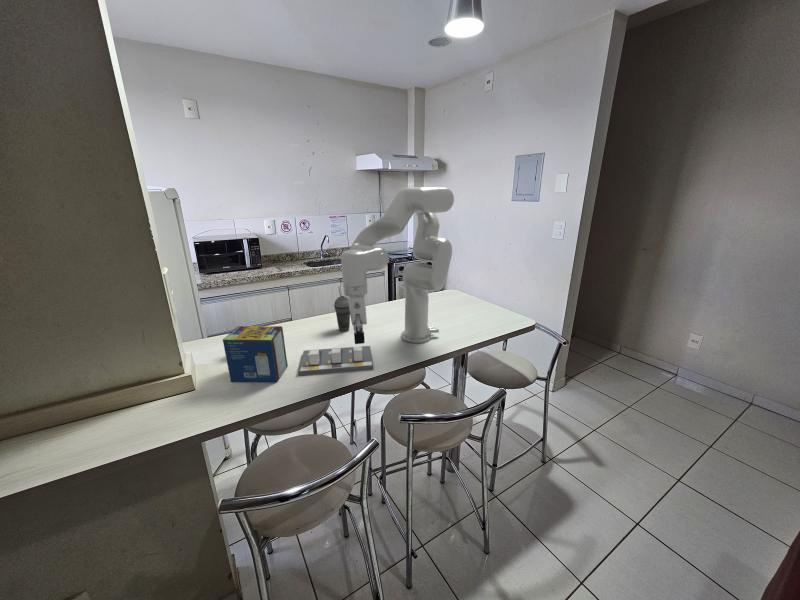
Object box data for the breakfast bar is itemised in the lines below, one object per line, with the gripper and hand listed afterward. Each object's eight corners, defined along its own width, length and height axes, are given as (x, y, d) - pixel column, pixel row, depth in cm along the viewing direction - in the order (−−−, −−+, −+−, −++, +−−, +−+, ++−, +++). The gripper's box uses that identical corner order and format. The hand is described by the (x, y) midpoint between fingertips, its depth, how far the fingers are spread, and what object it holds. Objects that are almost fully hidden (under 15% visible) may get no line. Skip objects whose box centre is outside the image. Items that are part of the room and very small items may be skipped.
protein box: (244, 366, 115) (237, 325, 110) (288, 366, 115) (283, 325, 110) (229, 383, 105) (221, 339, 100) (277, 383, 105) (271, 339, 100)
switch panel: (370, 349, 127) (370, 345, 126) (373, 369, 113) (373, 364, 112) (304, 354, 123) (303, 349, 122) (299, 375, 109) (298, 370, 108)
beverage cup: (349, 334, 140) (346, 289, 133) (333, 332, 141) (330, 288, 135) (354, 327, 146) (352, 284, 140) (339, 326, 148) (336, 283, 141)
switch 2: (362, 356, 117) (361, 346, 116) (362, 360, 114) (362, 350, 113) (353, 357, 117) (353, 347, 116) (354, 361, 114) (353, 351, 113)
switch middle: (341, 358, 116) (340, 348, 115) (341, 362, 113) (340, 352, 112) (332, 359, 116) (331, 348, 114) (332, 363, 113) (331, 352, 111)
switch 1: (319, 360, 115) (318, 349, 114) (319, 364, 112) (318, 354, 111) (310, 360, 114) (309, 350, 113) (310, 365, 112) (309, 354, 110)
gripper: (369, 297, 97) (372, 347, 103) (365, 280, 113) (368, 325, 119) (343, 298, 96) (348, 350, 102) (343, 281, 112) (347, 327, 118)
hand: (359, 336), depth 110 cm, fingers open, 9 cm apart
